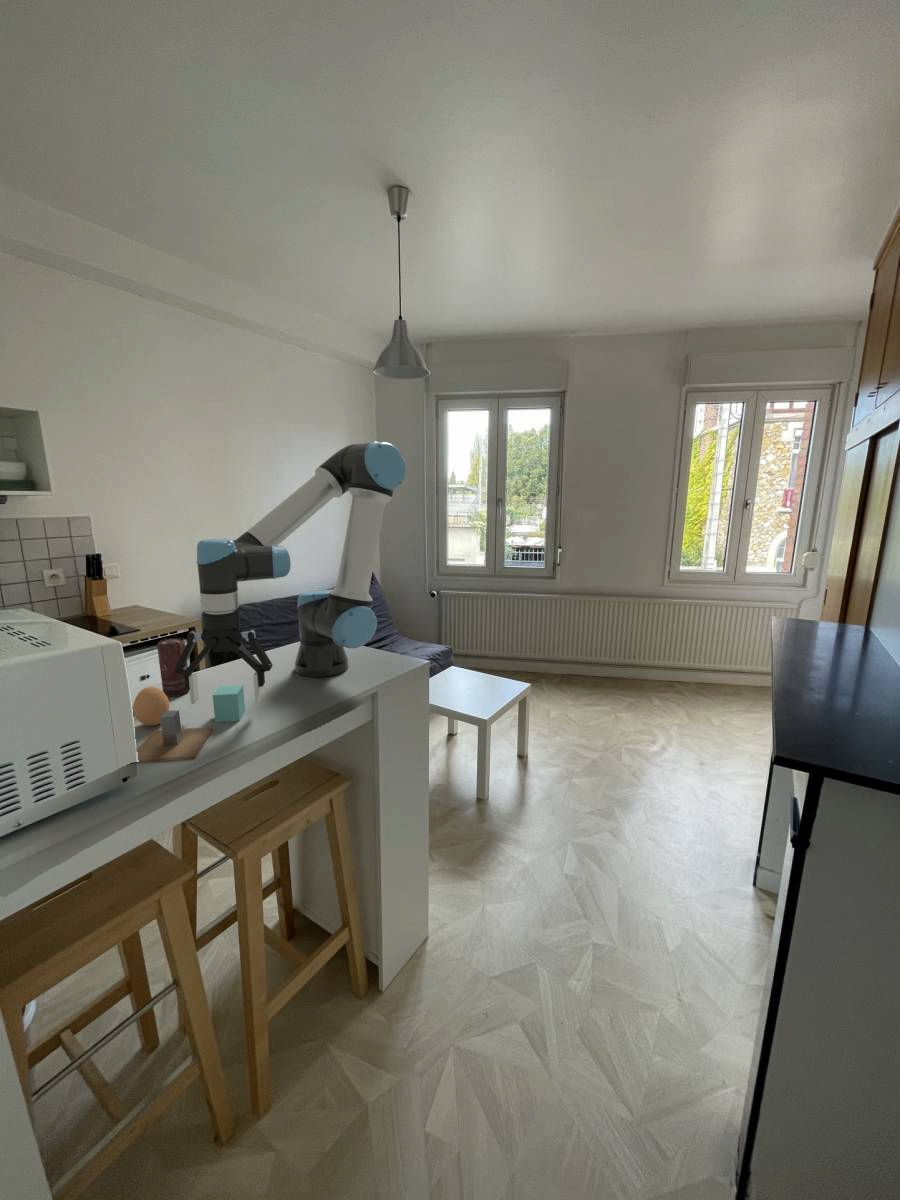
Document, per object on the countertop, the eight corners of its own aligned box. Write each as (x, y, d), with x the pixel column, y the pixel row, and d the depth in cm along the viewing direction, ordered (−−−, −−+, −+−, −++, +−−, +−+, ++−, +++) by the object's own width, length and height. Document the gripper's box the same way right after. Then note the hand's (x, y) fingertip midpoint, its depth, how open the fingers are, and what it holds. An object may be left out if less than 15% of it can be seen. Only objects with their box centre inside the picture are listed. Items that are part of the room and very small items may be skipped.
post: (182, 739, 102) (178, 710, 100) (177, 745, 99) (174, 716, 98) (168, 739, 101) (165, 711, 100) (163, 746, 99) (160, 717, 98)
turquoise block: (245, 710, 116) (242, 684, 115) (239, 720, 111) (237, 693, 110) (221, 712, 115) (219, 685, 114) (215, 722, 110) (212, 695, 109)
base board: (213, 729, 107) (213, 726, 107) (194, 758, 96) (194, 756, 96) (154, 733, 105) (153, 730, 105) (127, 763, 94) (127, 760, 94)
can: (179, 698, 123) (173, 645, 119) (157, 696, 124) (150, 643, 121) (196, 688, 128) (191, 637, 125) (175, 686, 130) (169, 635, 126)
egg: (152, 716, 113) (147, 679, 111) (178, 719, 112) (173, 682, 110) (128, 730, 107) (122, 691, 104) (155, 733, 105) (150, 694, 103)
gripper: (282, 605, 113) (286, 692, 118) (165, 606, 109) (174, 696, 114) (276, 613, 106) (280, 705, 110) (151, 615, 102) (161, 709, 106)
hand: (226, 700), depth 112 cm, fingers open, 13 cm apart
